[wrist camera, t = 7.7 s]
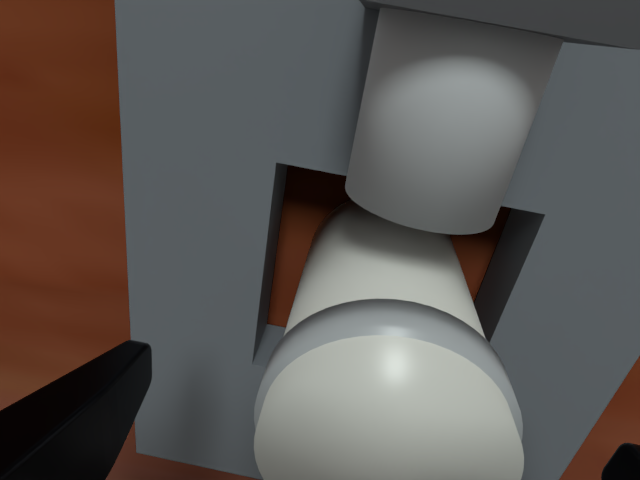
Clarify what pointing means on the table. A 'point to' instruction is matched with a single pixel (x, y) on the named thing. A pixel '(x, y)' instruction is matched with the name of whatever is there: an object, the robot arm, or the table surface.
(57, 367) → the table surface
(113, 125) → the table surface
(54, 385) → the robot arm
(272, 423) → the coupler
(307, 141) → the shaft mount
